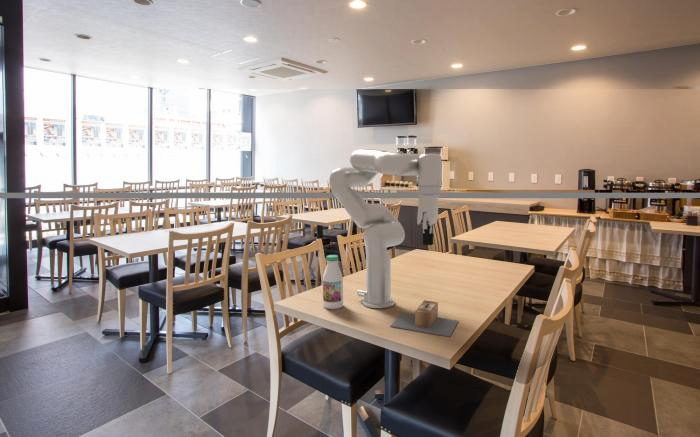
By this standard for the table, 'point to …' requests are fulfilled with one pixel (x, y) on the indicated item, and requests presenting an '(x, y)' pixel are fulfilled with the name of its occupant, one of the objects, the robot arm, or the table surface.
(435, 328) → the charcoal mat
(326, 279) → the milk bottle
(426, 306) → the cardboard box
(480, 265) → the table surface
